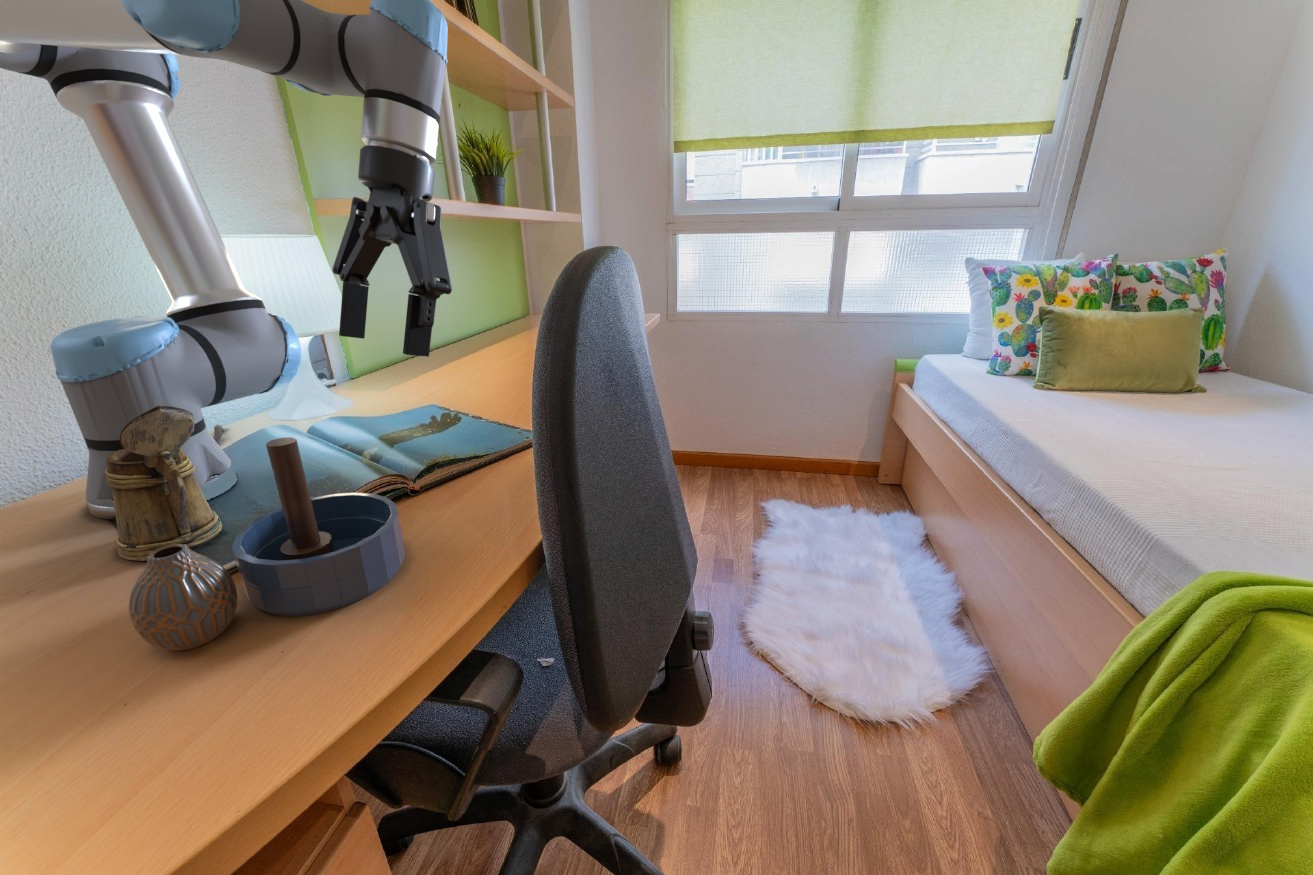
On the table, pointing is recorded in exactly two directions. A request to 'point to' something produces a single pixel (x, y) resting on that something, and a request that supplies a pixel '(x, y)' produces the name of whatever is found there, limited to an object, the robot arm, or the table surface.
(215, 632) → the vase
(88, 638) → the table surface
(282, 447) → the pestle
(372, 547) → the bowl
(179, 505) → the wooden mug
